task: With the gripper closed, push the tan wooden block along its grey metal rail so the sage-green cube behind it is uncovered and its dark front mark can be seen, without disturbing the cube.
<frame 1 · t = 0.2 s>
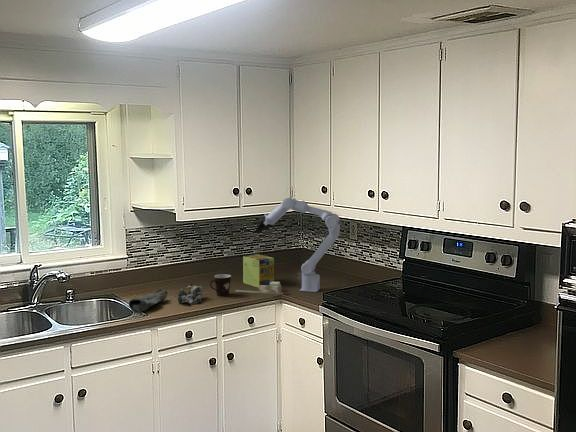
hand: (258, 230, 337), 31 cm above the countertop, fingers open, 7 cm apart
foil: (191, 302, 313), on the countertop
coffee mug: (220, 295, 325), on the countertop
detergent: (151, 306, 305), on the countertop
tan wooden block: (269, 288, 328), point 2 cm above the countertop, slide at 0.0 cm
rail: (258, 292, 330), on the countertop
protein box: (258, 284, 349), on the countertop
marked cube: (274, 290, 334), on the countertop
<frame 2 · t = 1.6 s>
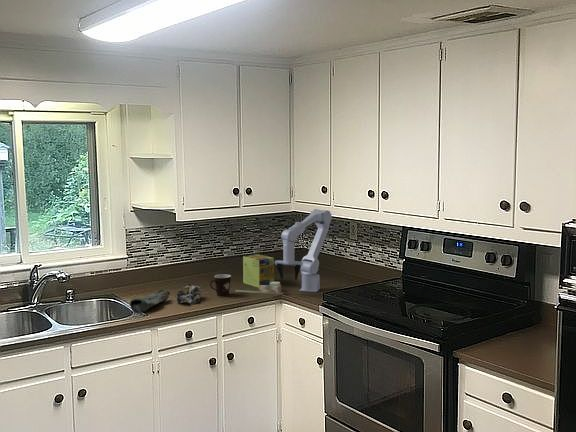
hand: (289, 278, 325), 8 cm above the countertop, fingers open, 7 cm apart
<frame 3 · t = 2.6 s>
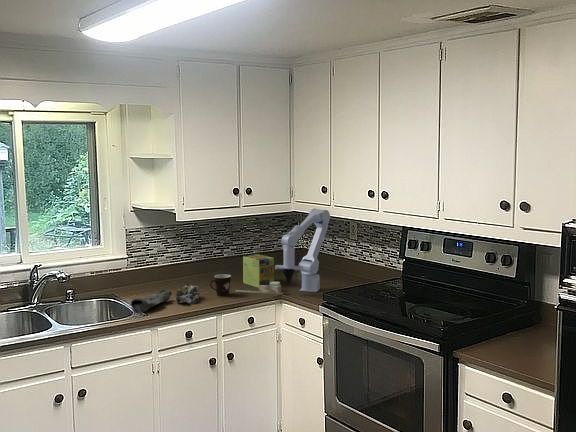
hand: (288, 283, 325), 6 cm above the countertop, fingers closed
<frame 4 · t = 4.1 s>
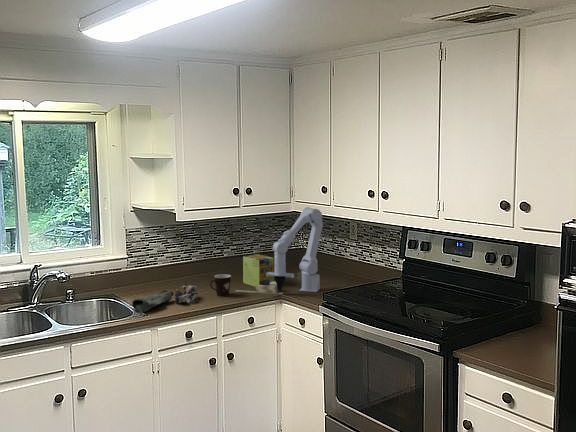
hand: (280, 290, 327), 2 cm above the countertop, fingers closed
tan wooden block: (266, 288, 328), point 2 cm above the countertop, slide at 1.7 cm, touching gripper
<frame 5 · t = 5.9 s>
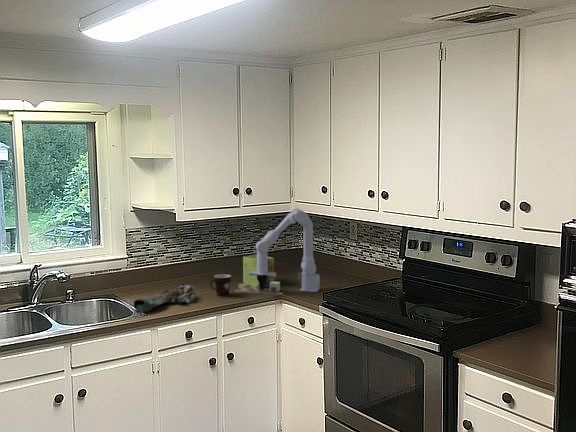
hand: (262, 289, 329), 2 cm above the countertop, fingers closed
foil: (185, 301, 314), on the countertop
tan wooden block: (249, 287, 331), point 2 cm above the countertop, slide at 11.3 cm, touching gripper
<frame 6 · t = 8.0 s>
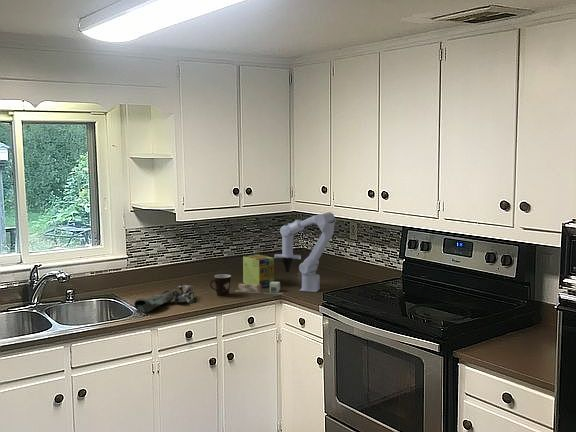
hand: (287, 271, 342), 8 cm above the countertop, fingers closed
foil: (185, 301, 314), on the countertop, touching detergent
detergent: (157, 307, 304), on the countertop, touching foil
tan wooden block: (249, 287, 331), point 2 cm above the countertop, slide at 11.3 cm
everything else where it was.
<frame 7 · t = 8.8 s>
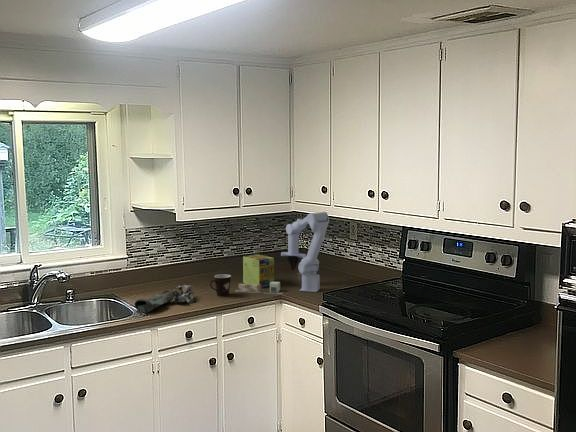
hand: (293, 269, 346), 8 cm above the countertop, fingers closed
foil: (184, 301, 314), on the countertop
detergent: (157, 307, 304), on the countertop
everything else where it was.
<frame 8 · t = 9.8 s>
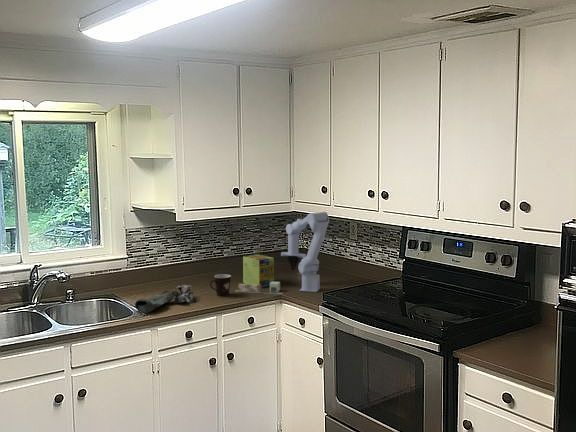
hand: (293, 269, 346), 8 cm above the countertop, fingers closed
nothing on the countertop moved.
at the end: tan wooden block slide at 11.3 cm; marked cube moved 0.1 cm from its start; marked cube tilted 0° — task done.
